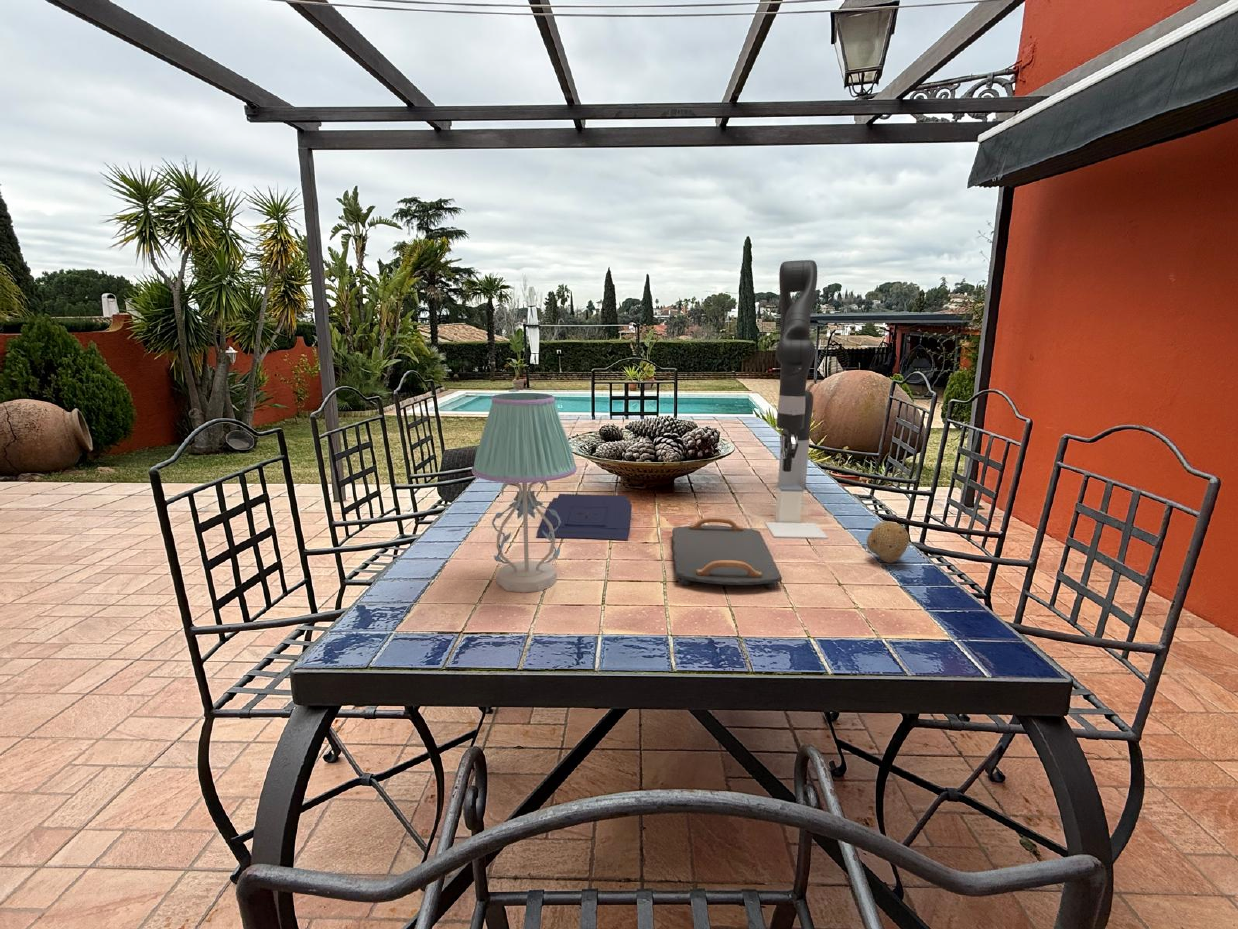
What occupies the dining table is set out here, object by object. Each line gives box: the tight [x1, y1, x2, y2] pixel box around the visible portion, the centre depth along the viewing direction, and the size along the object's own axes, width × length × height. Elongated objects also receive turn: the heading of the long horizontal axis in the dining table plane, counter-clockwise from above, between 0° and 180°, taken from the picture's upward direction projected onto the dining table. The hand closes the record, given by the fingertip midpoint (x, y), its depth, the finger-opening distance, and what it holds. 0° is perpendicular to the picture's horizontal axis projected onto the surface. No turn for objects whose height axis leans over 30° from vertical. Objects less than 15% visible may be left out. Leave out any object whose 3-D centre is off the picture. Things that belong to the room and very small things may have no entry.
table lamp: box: [471, 392, 578, 594], centre depth 135 cm, size 22×22×40 cm
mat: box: [764, 521, 829, 540], centre depth 174 cm, size 12×14×1 cm
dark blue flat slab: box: [536, 493, 633, 541], centre depth 180 cm, size 24×30×4 cm
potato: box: [866, 520, 910, 564], centre depth 152 cm, size 9×9×10 cm
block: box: [774, 484, 804, 523], centre depth 182 cm, size 5×6×10 cm
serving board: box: [671, 516, 783, 590], centre depth 152 cm, size 39×23×6 cm, turn 177°
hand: (786, 471), depth 185 cm, fingers closed
